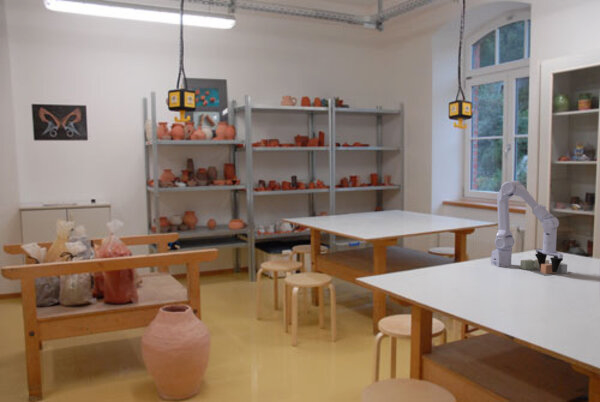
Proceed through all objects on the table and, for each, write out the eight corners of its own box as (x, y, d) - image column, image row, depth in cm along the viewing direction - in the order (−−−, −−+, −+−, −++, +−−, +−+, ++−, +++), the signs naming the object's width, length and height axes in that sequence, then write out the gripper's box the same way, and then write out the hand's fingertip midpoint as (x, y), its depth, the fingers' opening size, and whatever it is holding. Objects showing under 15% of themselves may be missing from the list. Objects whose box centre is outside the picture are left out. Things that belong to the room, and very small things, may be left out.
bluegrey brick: (566, 272, 238) (567, 264, 238) (562, 273, 237) (562, 264, 237) (556, 269, 244) (557, 261, 243) (552, 270, 243) (552, 262, 242)
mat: (545, 277, 232) (545, 275, 232) (518, 268, 248) (518, 267, 248) (570, 274, 236) (570, 273, 236) (542, 266, 252) (542, 265, 252)
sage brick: (524, 269, 244) (525, 261, 244) (520, 268, 247) (520, 260, 247) (534, 268, 246) (534, 260, 246) (530, 267, 249) (530, 259, 249)
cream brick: (539, 268, 246) (539, 260, 246) (534, 267, 249) (535, 259, 248) (548, 267, 248) (549, 259, 247) (544, 266, 251) (544, 258, 250)
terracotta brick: (545, 273, 236) (545, 265, 236) (540, 272, 239) (541, 264, 238) (555, 272, 238) (555, 264, 237) (550, 271, 241) (550, 263, 240)
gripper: (568, 244, 231) (567, 272, 233) (544, 239, 245) (543, 266, 246) (556, 245, 229) (555, 274, 230) (532, 240, 243) (531, 267, 244)
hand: (548, 270), depth 238 cm, fingers open, 7 cm apart
